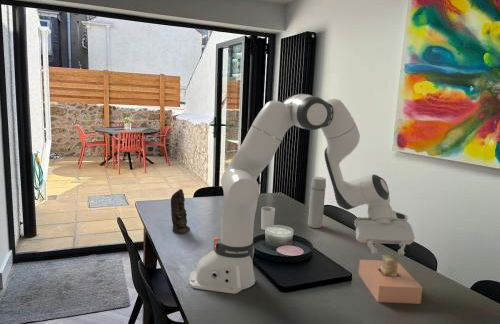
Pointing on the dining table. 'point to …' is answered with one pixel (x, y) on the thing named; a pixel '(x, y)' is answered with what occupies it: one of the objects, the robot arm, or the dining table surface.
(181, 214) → the statue
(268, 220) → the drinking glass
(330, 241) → the dining table surface
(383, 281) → the socket
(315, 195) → the water bottle
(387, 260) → the peg
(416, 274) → the dining table surface
